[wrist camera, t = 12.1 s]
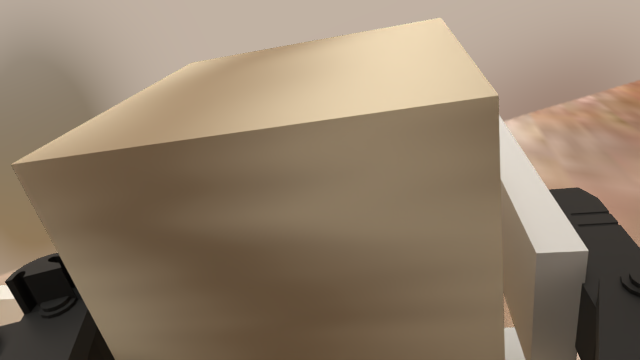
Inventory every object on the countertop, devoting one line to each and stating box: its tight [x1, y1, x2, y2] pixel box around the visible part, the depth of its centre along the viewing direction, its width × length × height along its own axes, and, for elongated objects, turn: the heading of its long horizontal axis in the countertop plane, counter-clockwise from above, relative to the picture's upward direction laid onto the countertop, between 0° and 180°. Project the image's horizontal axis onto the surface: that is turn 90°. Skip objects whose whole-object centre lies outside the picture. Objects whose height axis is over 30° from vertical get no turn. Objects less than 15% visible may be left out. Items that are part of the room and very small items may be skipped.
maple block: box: [11, 18, 505, 360], centre depth 10 cm, size 6×6×12 cm
